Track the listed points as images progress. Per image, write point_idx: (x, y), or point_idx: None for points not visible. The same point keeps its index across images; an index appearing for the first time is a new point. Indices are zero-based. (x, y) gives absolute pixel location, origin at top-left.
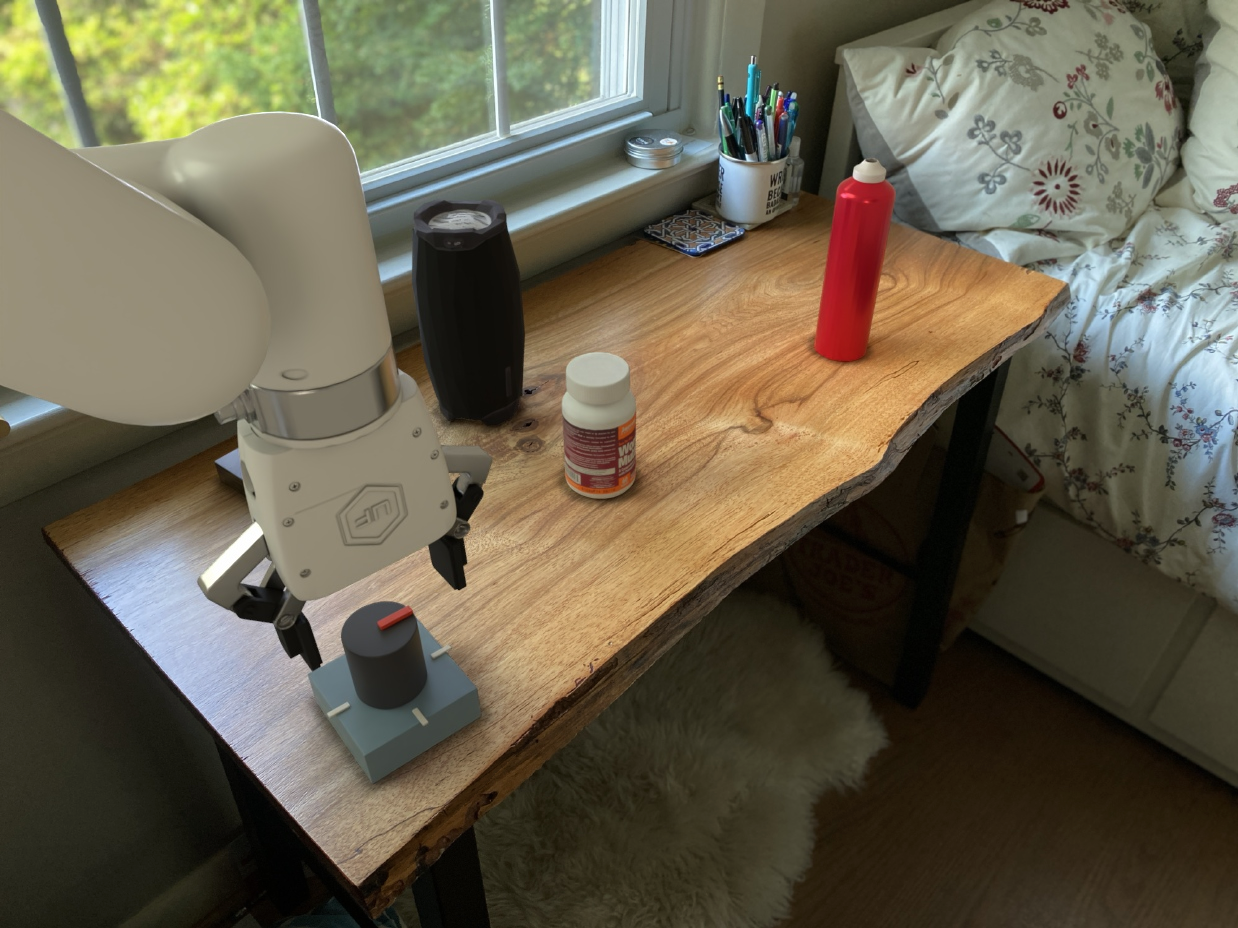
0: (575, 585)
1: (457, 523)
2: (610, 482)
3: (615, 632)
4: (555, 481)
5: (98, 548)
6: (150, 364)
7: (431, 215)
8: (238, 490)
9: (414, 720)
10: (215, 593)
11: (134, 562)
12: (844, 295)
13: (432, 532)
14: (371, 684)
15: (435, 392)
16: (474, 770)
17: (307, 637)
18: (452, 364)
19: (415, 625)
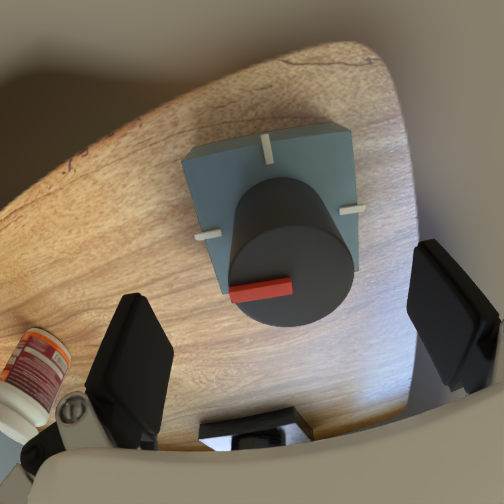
0: (68, 265)
1: (70, 431)
2: (32, 340)
3: (43, 197)
4: (80, 360)
5: (393, 405)
6: None
7: None
8: (307, 425)
9: (275, 148)
10: None
11: (385, 395)
12: None
13: (93, 491)
14: (322, 207)
15: (156, 445)
16: (224, 83)
17: (470, 291)
18: None
19: (233, 262)
